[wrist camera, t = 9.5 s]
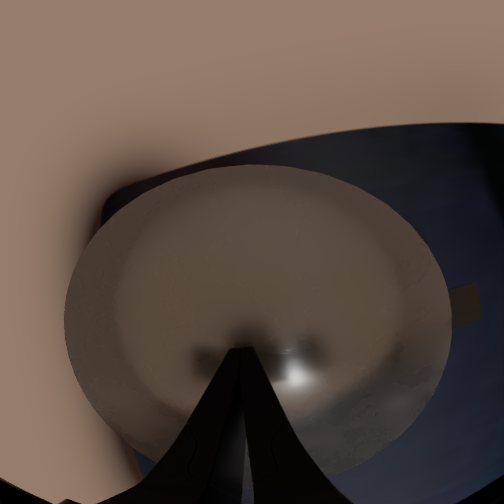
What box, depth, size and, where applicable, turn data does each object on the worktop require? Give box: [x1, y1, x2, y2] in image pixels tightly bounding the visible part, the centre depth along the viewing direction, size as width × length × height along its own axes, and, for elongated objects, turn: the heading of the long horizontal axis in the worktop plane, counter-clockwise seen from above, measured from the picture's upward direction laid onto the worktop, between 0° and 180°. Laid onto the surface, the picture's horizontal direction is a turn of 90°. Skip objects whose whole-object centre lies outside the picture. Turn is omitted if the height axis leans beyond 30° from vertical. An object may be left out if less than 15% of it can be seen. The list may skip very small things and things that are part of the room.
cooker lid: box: [64, 165, 452, 488], centre depth 11 cm, size 18×18×1 cm
